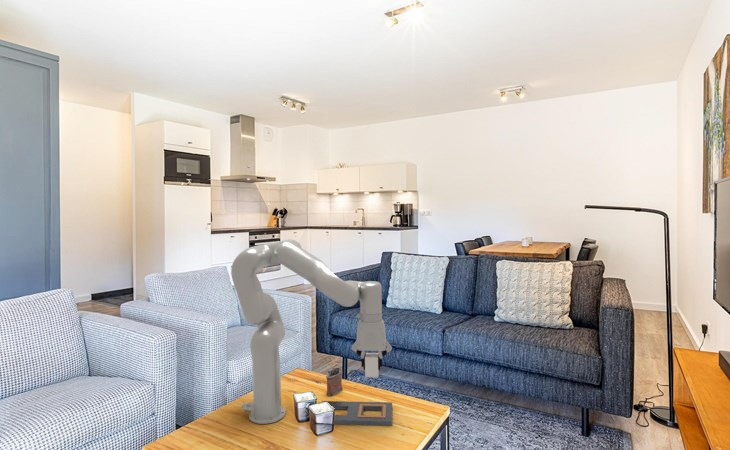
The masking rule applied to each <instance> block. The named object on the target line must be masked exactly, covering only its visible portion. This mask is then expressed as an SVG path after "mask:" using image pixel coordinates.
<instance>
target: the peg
mask: <svg viewBox="0 0 730 450" xmlns="http://www.w3.org/2000/svg"><path fill="white" fill-rule="evenodd" d="M378 356H379V354H378V352H365V370H364V372H365V373H364V377H365V378H379V371H380V370H378Z"/></svg>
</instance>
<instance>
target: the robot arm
mask: <svg viewBox="0 0 730 450" xmlns="http://www.w3.org/2000/svg"><path fill="white" fill-rule="evenodd" d="M279 265H282V266H283V267H285V268H286V269H288V270H289V271H292V272H293V273H294V274H296V275H298V276H300V277H301V278H303V279H305V280H306V281H307V282H308V283H310V284H311V285H312V286H313V287H314V288H316V289H317V290H318V291H319V292H320V293H322V294H323V295H325V296H326V297H327V298H329V299H331V300H332V301H334V302H335V303H336V304H339V305H340V306H343V307H345V308H347V307H353V306H355V305H356V304H357V303H358V301H359V304H360V305H359V306H360V307H359V308H360V311H359V313H355V314H356V315H355V317H356V318H357V319H359V320H358V322H357V328H356V329H357V330H356V340H355V342H354V343H353V344H352V345H351V350H352V351H353V352H355V353H356V354H357V355H358V356H359V357H360V359H361V367H363V368H362V369H363V371H365V354H366V352H377V353H378V370H379V371H381V368H382V367H383V358H384V357H385V356H386V355H387V354H388V353H389V352H391V351H392V349H393V347H392V345H391V344H390V343H389V341H388V340H387V334H386V333H387V332H386V324H385V321H384V319H383V305H382V304H383V303H382V302H383V301H382V299H383V298H382V297H383V296H382V295H383V293H382V291H383V290H382V284H381V283H380V282H379V281H373V280H368V281H358V280H350V279H349V280H343V279H342V278H340V277H339V276H337V275H336V274H334V273H333V272H332V271H331V270H330V269H329V268H328V266H327V265H326V263H325V262H324V261H323V260H321V259H320V258H319V257H317V256H316V255H314V254H312V253H310V252H309V251H307V250H306V249H304V248H303V247H302V246H301V244H300V242H298V241H296V240H295V239H292V238H291V239H285V240H281V241H276V242H270V243H269V242H268V243H264V244H258V245H254V246H251V247H248V248H245V249H244V250H242V251H241V252H240V253H239V254H238V255H237V256H236V257H235V259H234V260H233V262H232V265H231V270H230V275H231V278H232V282H233V285H234V288H235V291H236V294H237V298H238V301H239V304H240V307H241V310H242V313H243V317H244V320H245V321H246V322H247V323H249V324H250V325H252V326H257V330H255V332H254V333H253V335H252V336H251V340H250V343H249V344H250V354H251V363H252V364H251V365H252V390H253V391H252V392H253V393H252V395H253V396H252V397H253V399H252V401H251V402H242V405H241V408H242V410H243V412H248V411H249V413H248V418H249V421H250V422H253V423H254V424H258V425H259V424H260V425H265V424H273V423H276V422H278V421H280V420H282V419H283V418H284V417H285V416H286V411H287V410H286V408H285V407H284V406H283V405H282V388H281V387H282V385H281V384H282V383H281V381H282V378H281V357H280V346H281V345H280V344H281V343H282V342H283V340H284V338H285V334H286V333H285V332H286V330H285V326H284V323H283V320H282V317H281V313H280V310H279V308H278V305H277V301H276V300H275V299H274V297H273V296H272V295H270V294H268V293H266V292H264V290H263V287H262V284H261V282H260V280H259V278H258V276H257V272H259V271H260V270H262V269H265V268H267V267H272V266H279Z"/></svg>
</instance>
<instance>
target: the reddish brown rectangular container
mask: <svg viewBox="0 0 730 450" xmlns="http://www.w3.org/2000/svg"><path fill="white" fill-rule="evenodd" d="M342 375H343V371H342V370H340V366H338V365H337V366H333V367H332V368H331V369H328V370H327V374H326V376H325V378H326V396H327V397H333V396H335V395H336V396H337V394H340V393H341V392H342V391H343V387H342V385H343V384H342V378H343V377H342Z"/></svg>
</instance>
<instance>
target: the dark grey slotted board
mask: <svg viewBox="0 0 730 450" xmlns="http://www.w3.org/2000/svg"><path fill="white" fill-rule="evenodd" d="M322 402H328V403H329V404H330V405H331V406H333V407H334V408H335V410H334V411H347V412H346V414H333V415H334V424H333V425H337V426H338V425H340V426H341V425H343V426H374V427H375V426H385V427H393V402H390V401H389V402H388V401H387V402H385V401H384V402H383V401H341V400H339V401H337V400H336V401H335V400H322V401H321V403H322ZM364 412H381V413H380V415H369V414H368V415H365V414H364Z"/></svg>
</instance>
